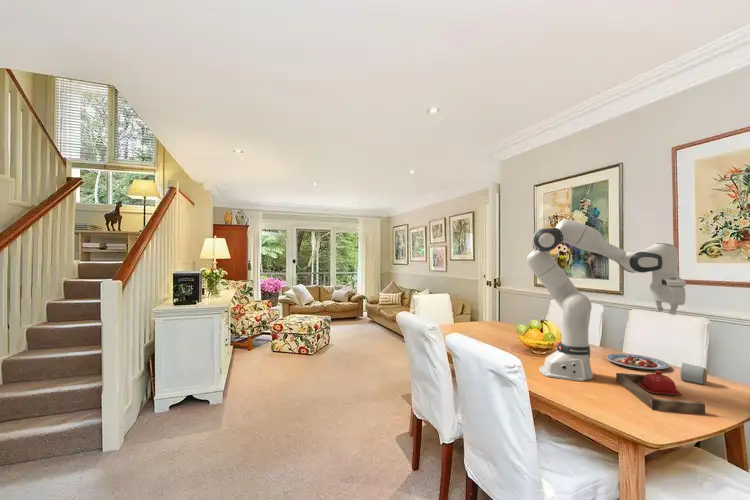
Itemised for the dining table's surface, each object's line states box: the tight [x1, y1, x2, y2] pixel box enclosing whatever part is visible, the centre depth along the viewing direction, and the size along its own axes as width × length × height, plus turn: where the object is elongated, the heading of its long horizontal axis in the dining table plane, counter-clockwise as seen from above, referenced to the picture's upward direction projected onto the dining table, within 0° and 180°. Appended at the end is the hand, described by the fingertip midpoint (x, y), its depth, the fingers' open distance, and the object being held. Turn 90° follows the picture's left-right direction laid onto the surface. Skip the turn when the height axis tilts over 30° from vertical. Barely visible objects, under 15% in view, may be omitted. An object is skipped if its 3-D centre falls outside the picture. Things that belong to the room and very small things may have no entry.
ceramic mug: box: [679, 362, 708, 385], centre depth 153 cm, size 11×8×8 cm
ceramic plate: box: [605, 353, 670, 371], centre depth 177 cm, size 26×26×3 cm
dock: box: [615, 372, 706, 415], centre depth 137 cm, size 16×30×4 cm, turn 166°
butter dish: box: [637, 369, 683, 396], centre depth 142 cm, size 12×12×8 cm
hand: (666, 312), depth 149 cm, fingers open, 8 cm apart
